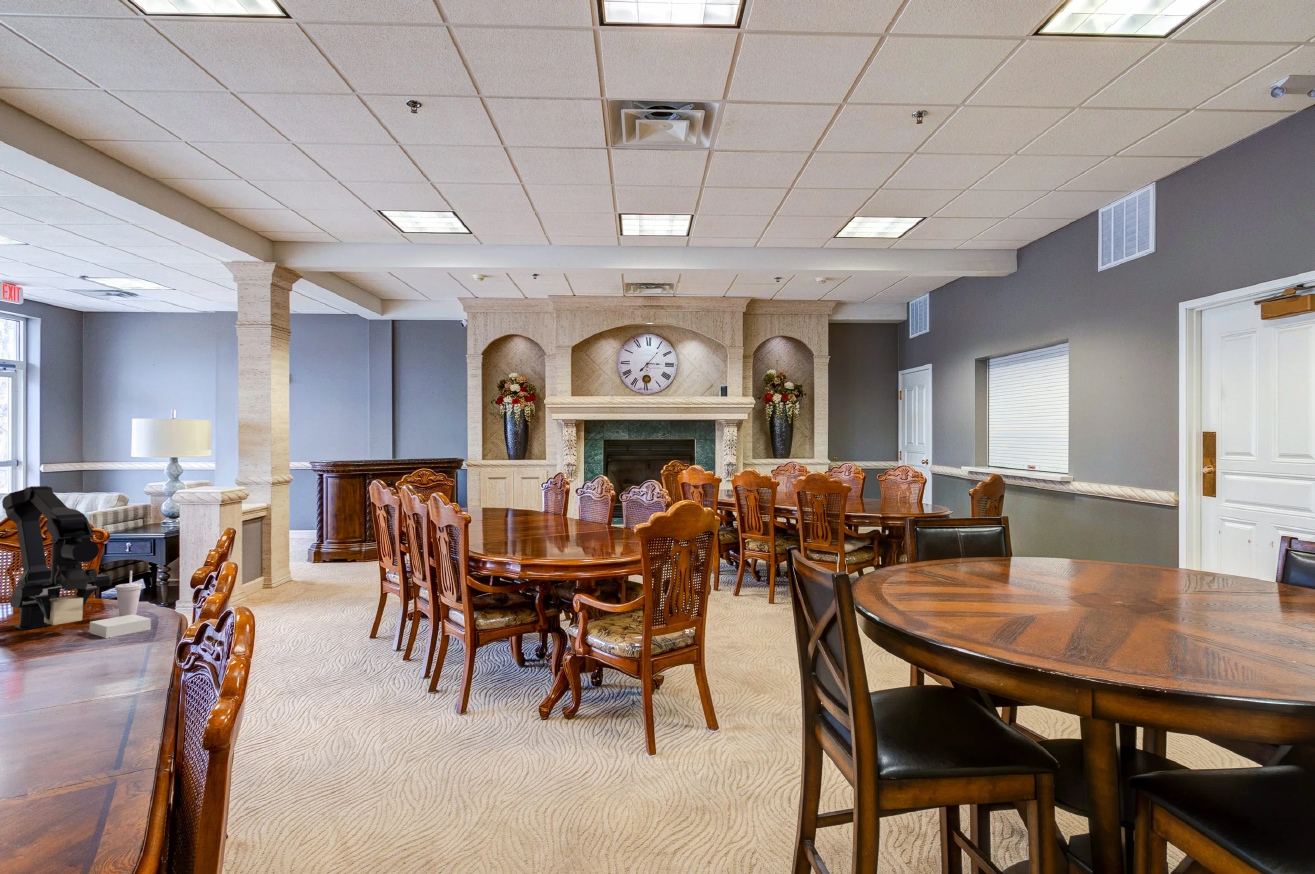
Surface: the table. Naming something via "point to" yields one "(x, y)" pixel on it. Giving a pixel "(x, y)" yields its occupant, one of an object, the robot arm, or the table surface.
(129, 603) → the smoothie
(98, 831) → the table surface
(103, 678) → the table surface
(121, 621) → the plinth
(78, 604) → the maple cube
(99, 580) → the robot arm
